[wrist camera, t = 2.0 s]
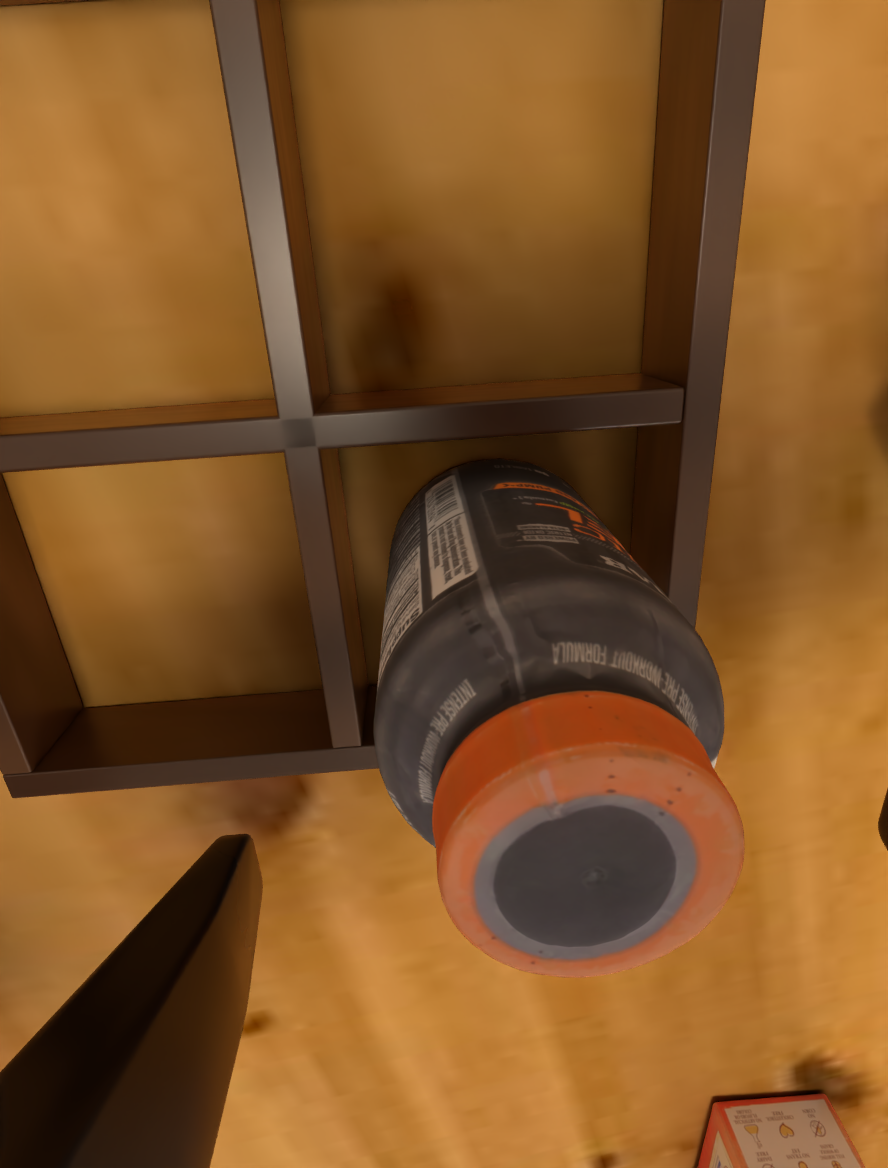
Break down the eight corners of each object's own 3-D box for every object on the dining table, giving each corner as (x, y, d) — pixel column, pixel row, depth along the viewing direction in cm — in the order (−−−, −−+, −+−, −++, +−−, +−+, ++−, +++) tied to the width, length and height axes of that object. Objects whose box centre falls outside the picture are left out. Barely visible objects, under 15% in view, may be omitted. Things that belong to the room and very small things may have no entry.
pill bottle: (637, 546, 18) (925, 861, 8) (496, 680, 20) (587, 1084, 10) (487, 407, 17) (612, 581, 6) (345, 566, 18) (260, 915, 8)
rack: (646, 684, 20) (683, 744, 18) (66, 731, 20) (11, 799, 17) (707, -86, 13) (788, -191, 10) (-219, -34, 13) (-394, -128, 10)
